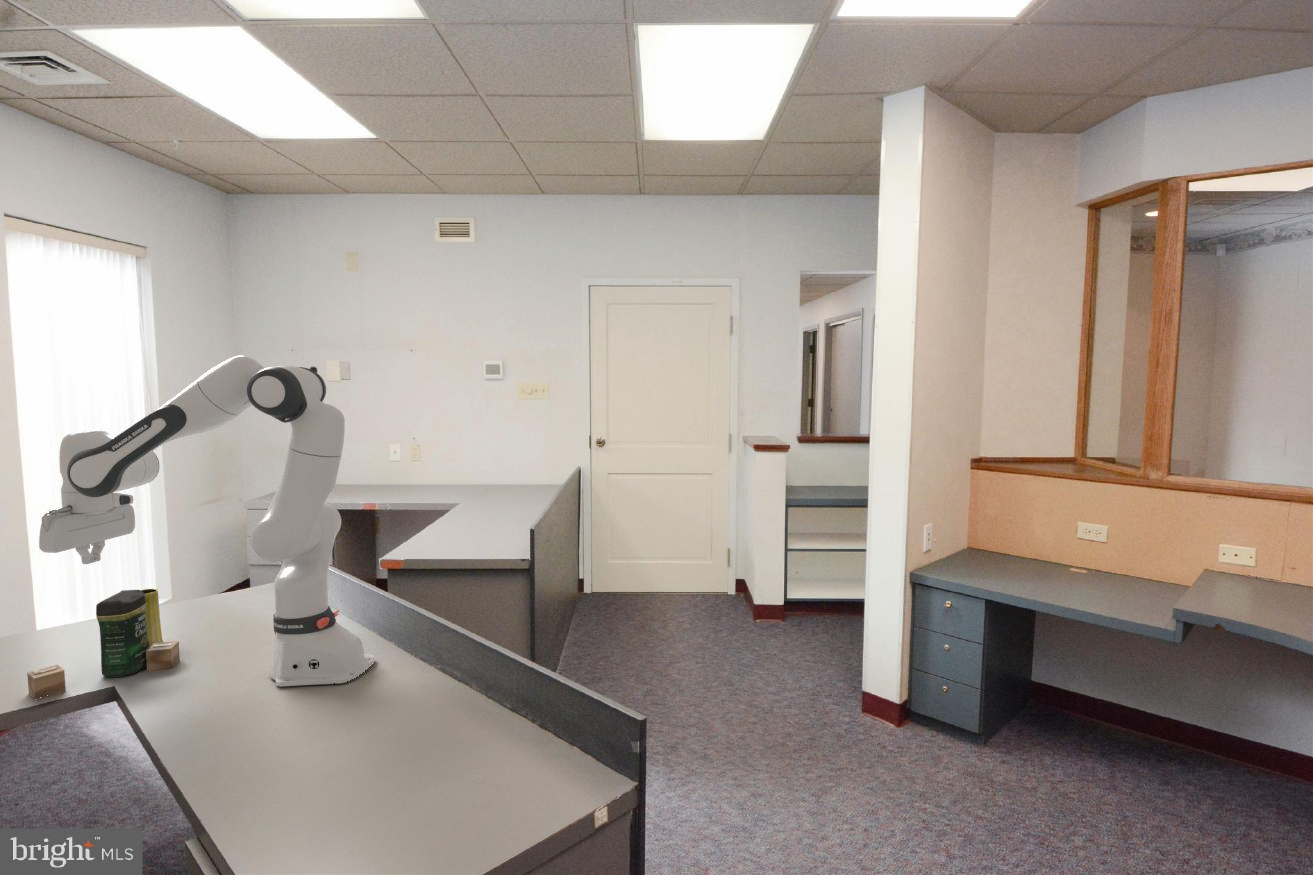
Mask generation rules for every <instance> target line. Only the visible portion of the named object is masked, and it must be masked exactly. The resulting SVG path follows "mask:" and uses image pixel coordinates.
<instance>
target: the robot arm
mask: <svg viewBox="0 0 1313 875" xmlns="http://www.w3.org/2000/svg"><path fill="white" fill-rule="evenodd" d="M326 394H327V385H326V382H325V380H324V379H323V377H322V376H321V375H320V374H319V373H318V372H316V371H314V370H313V369H310V368H306V367H301V366H300V367H299V366H293V365H280V366H268V367H265V368H264V366H263V365H262V364H261V363H260V362H259V361H257V360H256V359H253V358H251V357H249V356H245V355H236V356H233V357H231V358H228V359H226V360H225V361H223V362H221V363H219V364H217V365H216V366H214V367H212V368H210V369H209V370H208V371H206V372H205V373H203V374H202V375H201V376H199V377H198V378H196V380H194V381H193V382H191V383H190V384H188V386H186V387H185V388H184V389H182V391H180V392H179V393H177V394H176V395H175V396H174V397H172V398H171V399H170V400H168V401H166V402H165V403H164V404H162V405H161V406H160V407H158V408H157V409H156V410H153V412H151V413H149V414H148V415H146V416H145V417H143V418H142V419H140V420H139V421H137V422H136V423H134V424H133V425H131V426H130V427H128V428H126V429H125V430H123V431H122V432H121V433H119V434H118V435H116V436H115V437H114V436H113V435H111V434H110V433H108V432H107V431H106V430H102V429H92V430H86V431H78V432H72V433H69V434H66V435H65V436H64V437H63V438H62V439H61V440H62V441H61V443H60V447H59V459H58V461H59V473H60V475H61V478H62V485H61V488H60V494H61V495H60V496H61V507H58V508H52V509H48V510H47V512H46V513H45V514H44V515H42V516H41V524H40V529H39V540H38V546H39V550H41V552H43V553H50V554H52V553H53V554H56V553H61V552H65V551H69V550H72V549H75V552H77V554H78V555H79V556H80V557H81V563H82V565H89V564H92V563H96V562H100V561H101V560H102V559H101V553H102V552H103V550H104V547H105V546H106V541H107V540H110V539H114V538H115V539H116V538H118V537H122V536H126V535H129V534H132V533H133V532H134V531H135V528H136V517H135V515H136V514H135V509H134V507H133V505H132V504H133V503H134V496H133V495H132V494H127V493H120V491H126V490H128V489H133V488H135V487H137V488H138V487H141V486H144V485H146V484H148V483H150V482H152V481H154V480H155V478H156V477H157V476H158V473H159V471H160V461H159V457H158V456H157V454H156V453H155V452H154V451H155V450H156V449H158V448H159V447H161V446H163V445H164V444H166V443H169V442H171V441H174V440H177V439H180V438H184V437H187V436H192V435H196V434H202V433H206V432H210V431H213V430H216V429H217V428H220V427H222V426H224V425H226V424H227V423H229V422H231V421H232V420H234V419H235V418H236V417H238V416H239V415H240V414H242V413H243V412H244V411H245V410H246V409H248V408H250V407H251V406H253V407H254V408H255V409H256V410H258V411H260V412H262V413H264V414H265V415H268V416H270V417H272V418H274V419H276V420H278V421H280V422H281V423H284V424H285V423H290V426H291V434H290V435H291V436H290V439H289V444H288V450H287V454H286V459H285V463H284V467H283V472H282V476H281V479H280V482H279V485H278V487H277V490H275V493H274V496H273V498H272V500H271V501H270V503H269V506H268V508H267V510H266V512H265V514H264V515H263V517H262V518H261V520H259V522H257V524H256V525H255V527H253V529H252V531H251V534H250V538H249V540H250V541H249V542H250V547H251V550H252V551H253V553H254V554H255V555H256V557H258V558H259V559H261V560H263V561H266V562H270V563H279V562H282V563H281V567H280V569H279V572H278V573H277V575H276V577H275V579H274V583H273V590H274V592H273V593H274V594H273V595H274V610H275V611H274V614H273V620H272V621H273V632H274V636H275V640H274V643H275V644H274V650H273V651H274V652H273V653H274V654H273V659H272V664H271V669H270V672H269V677H270V678H271V679H272V680H274V681H275V685H276V686H277V687H292V686H293V687H296V686H312V685H313V686H314V685H332V684H334V683H335V684H344V683H347V681H348V682H350V680H351V679H353V680H355V679H357V678H358V677H360V676H361V675H360V674H362V673H363V672H364V673H366V672H365V670H367V669H368V668H369V667H370V665H372V663H373V661H374V662H375V657H374V655H373V654H369V653H365V650H364V646H363V642H362V639H361V638H360V637H359V636H358V635H356V634H354V633H353V632H351V631H350V630H348V629H347V628H346V627H344V626H343V625H341V624H339V623H338V622H337V619H336V617H337V616H339V615H340V613H339V612H340V610H339V609H338V610H336V611H334V612H333V610H332V608H331V606H330V605H329V592H328V590H329V588H328V585H329V584H328V583H329V582H328V578H329V569H330V568H329V567H330V562H331V557H332V552H333V548H334V544H335V539H336V537H337V535H338V533H339V532H340V529H341V526H342V516H341V514H340V512H339V510H338V509H337V508H336V507H335V506H334V505H332V504H330V503H327V502H326V500H327V498H328V497H329V496H330V494H331V493H332V492H333V490H334V488H335V486H336V482H337V478H338V473H339V468H340V463H341V460H342V454H343V448H344V441H345V425H346V424H345V416H344V414H343V412H342V411H341V410H340V409H339V408H337V407H335V406H333V405H331V404H328V403H325V402H323V401H324V400H325V397H326ZM91 546H92V547H91ZM90 549H91V551H89V550H90ZM373 664H374V663H373ZM372 666H373V665H372ZM370 668H371V667H370ZM370 668H369V669H370ZM369 669H368V670H369ZM368 670H367V671H368ZM364 673H363V674H364ZM363 674H362V675H363ZM359 675H360V676H359ZM357 676H358V677H357ZM356 677H357V678H356ZM354 678H355V679H354ZM351 681H352V680H351ZM335 684H334V685H335Z"/></svg>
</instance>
